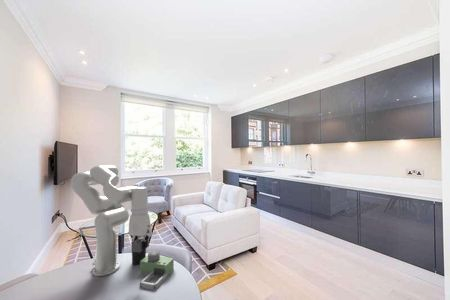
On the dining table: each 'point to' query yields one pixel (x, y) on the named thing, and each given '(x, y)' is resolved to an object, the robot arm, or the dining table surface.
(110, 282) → the dining table surface
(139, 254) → the travel mug
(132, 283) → the dining table surface
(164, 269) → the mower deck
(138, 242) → the ridged grey block
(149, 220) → the robot arm
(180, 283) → the dining table surface
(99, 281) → the dining table surface
